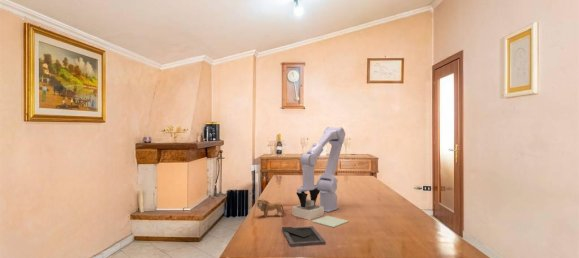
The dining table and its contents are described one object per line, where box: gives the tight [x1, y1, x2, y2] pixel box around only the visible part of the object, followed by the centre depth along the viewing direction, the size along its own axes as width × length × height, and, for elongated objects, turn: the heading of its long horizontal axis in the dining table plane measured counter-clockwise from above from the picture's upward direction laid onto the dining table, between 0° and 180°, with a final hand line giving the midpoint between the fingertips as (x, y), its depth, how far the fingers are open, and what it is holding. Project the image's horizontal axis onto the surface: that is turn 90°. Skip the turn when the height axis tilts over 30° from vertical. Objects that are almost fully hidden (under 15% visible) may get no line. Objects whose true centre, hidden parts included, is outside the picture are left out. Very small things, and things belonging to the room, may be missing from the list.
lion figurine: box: [256, 198, 287, 219], centre depth 154 cm, size 15×5×9 cm, turn 109°
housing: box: [291, 204, 325, 221], centre depth 156 cm, size 11×11×4 cm
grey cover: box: [297, 198, 320, 211], centre depth 156 cm, size 9×9×4 cm
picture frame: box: [281, 225, 327, 247], centre depth 126 cm, size 13×2×18 cm
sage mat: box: [311, 215, 349, 228], centre depth 146 cm, size 12×12×1 cm
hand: (308, 205), depth 156 cm, fingers open, 7 cm apart
